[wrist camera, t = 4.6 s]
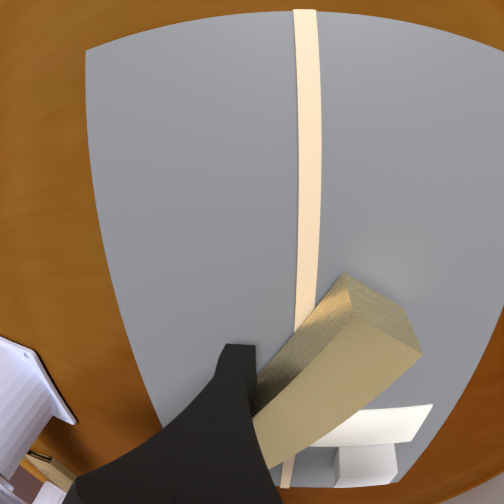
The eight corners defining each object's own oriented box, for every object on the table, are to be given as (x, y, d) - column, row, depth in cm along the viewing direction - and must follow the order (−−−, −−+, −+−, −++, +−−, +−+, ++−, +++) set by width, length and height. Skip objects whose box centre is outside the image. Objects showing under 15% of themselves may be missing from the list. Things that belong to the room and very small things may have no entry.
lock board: (188, 461, 18) (176, 493, 15) (102, 54, 8) (46, 43, 5) (396, 470, 15) (400, 504, 12) (517, 67, 6) (568, 62, 3)
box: (16, 440, 33) (10, 448, 31) (54, 453, 28) (48, 464, 26) (92, 500, 40) (88, 508, 38) (147, 517, 34) (143, 527, 32)
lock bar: (251, 448, 13) (241, 493, 11) (202, 428, 13) (186, 473, 10) (406, 309, 9) (432, 369, 6) (339, 267, 9) (351, 326, 6)
